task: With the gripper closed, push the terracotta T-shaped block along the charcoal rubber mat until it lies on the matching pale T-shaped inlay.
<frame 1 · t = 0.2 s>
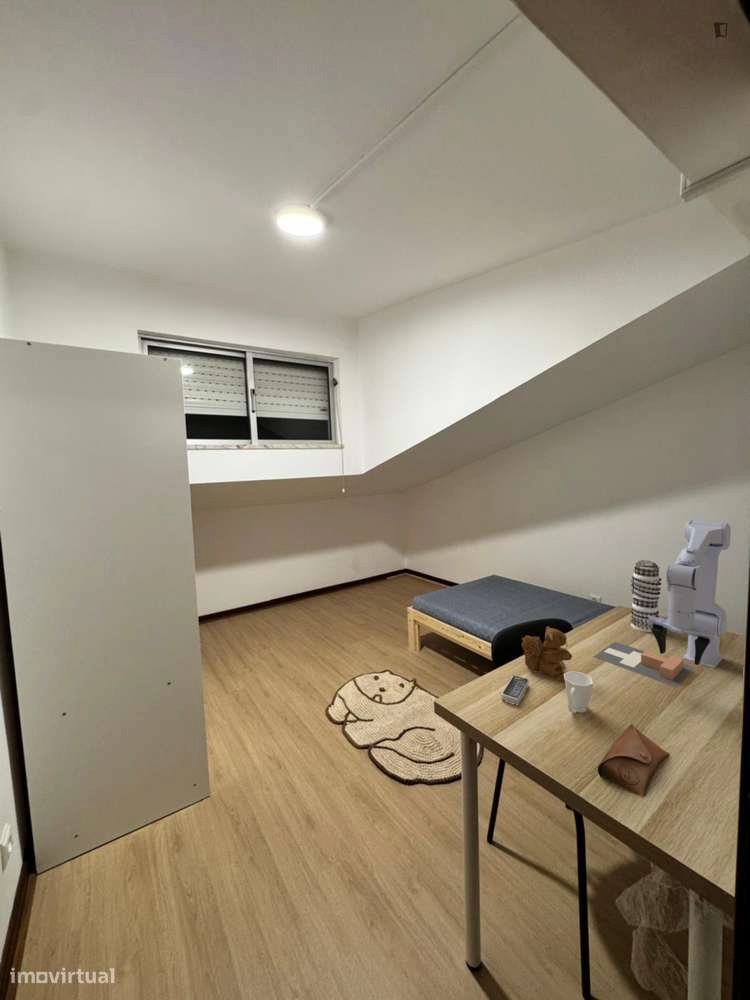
hand: (679, 657, 106), 10 cm above the table, fingers open, 7 cm apart
white patterned cylinder: (644, 627, 146), on the table
sunglasses case: (634, 766, 83), on the table
stuffed squirrel: (545, 671, 120), on the table
t block: (664, 669, 117), resting on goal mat
cup: (575, 710, 101), on the table
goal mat: (641, 663, 122), on the table
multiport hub: (515, 694, 109), on the table
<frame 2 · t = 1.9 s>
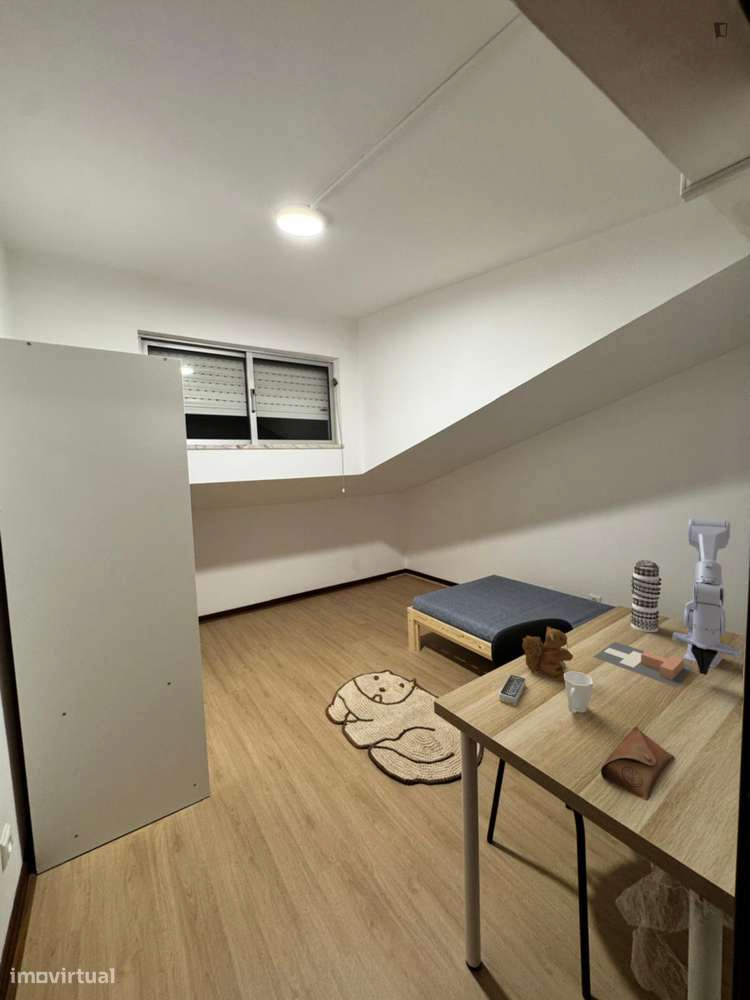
hand: (703, 672, 109), 3 cm above the table, fingers closed
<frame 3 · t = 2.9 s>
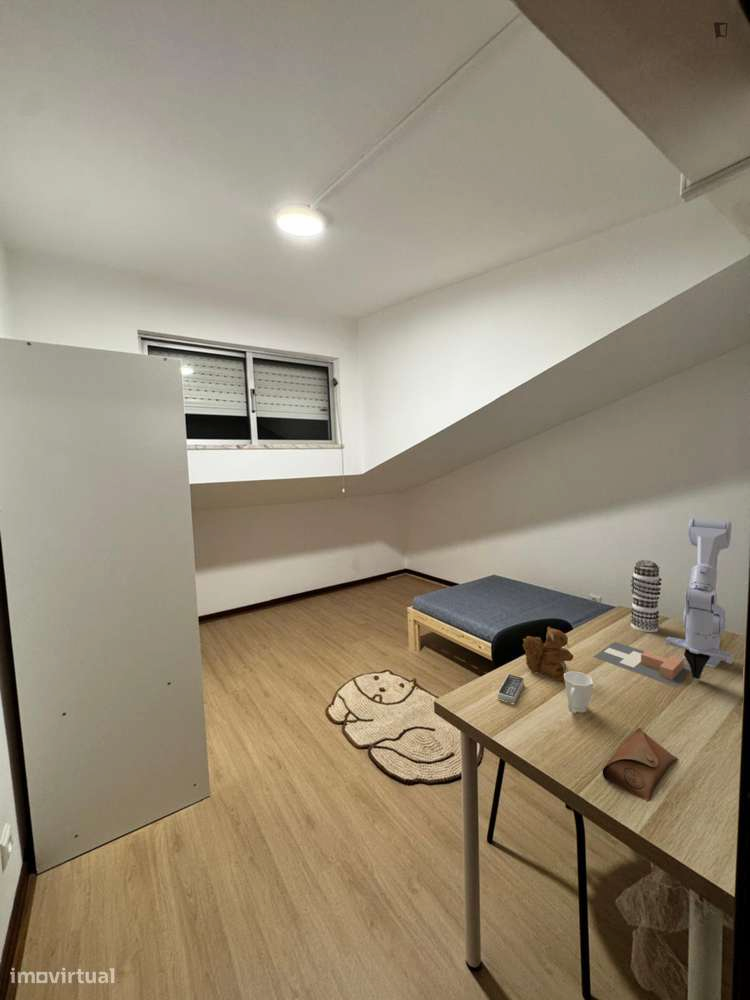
hand: (696, 677, 111), 1 cm above the table, fingers closed
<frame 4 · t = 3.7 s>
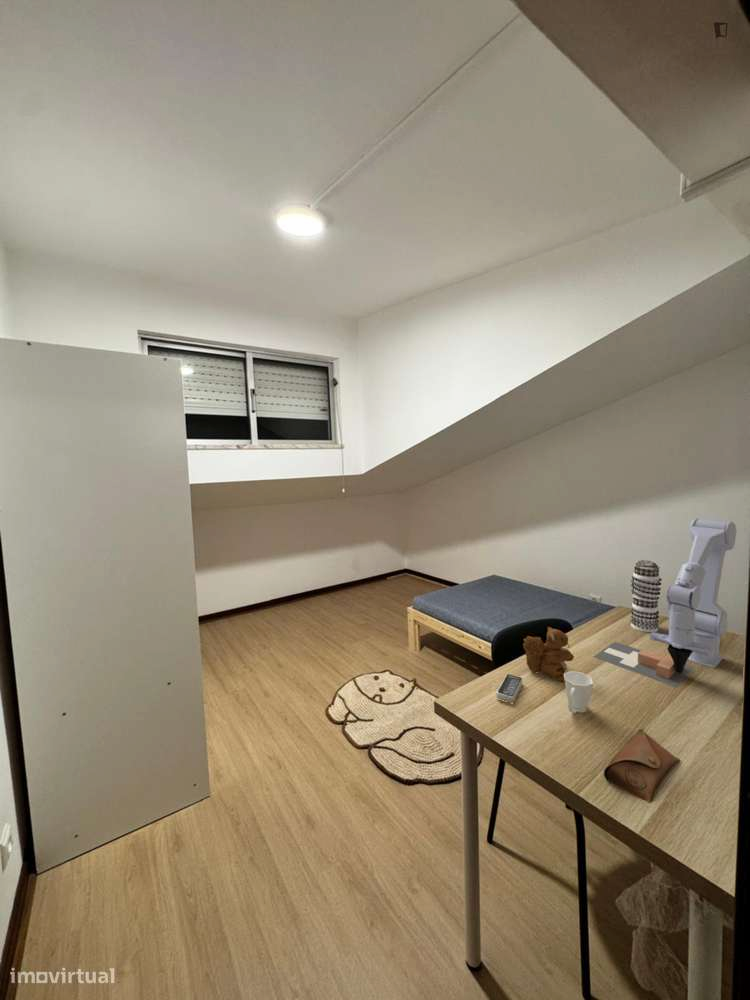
hand: (679, 671, 114), 1 cm above the table, fingers closed
t block: (661, 668, 117), resting on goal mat, touching gripper
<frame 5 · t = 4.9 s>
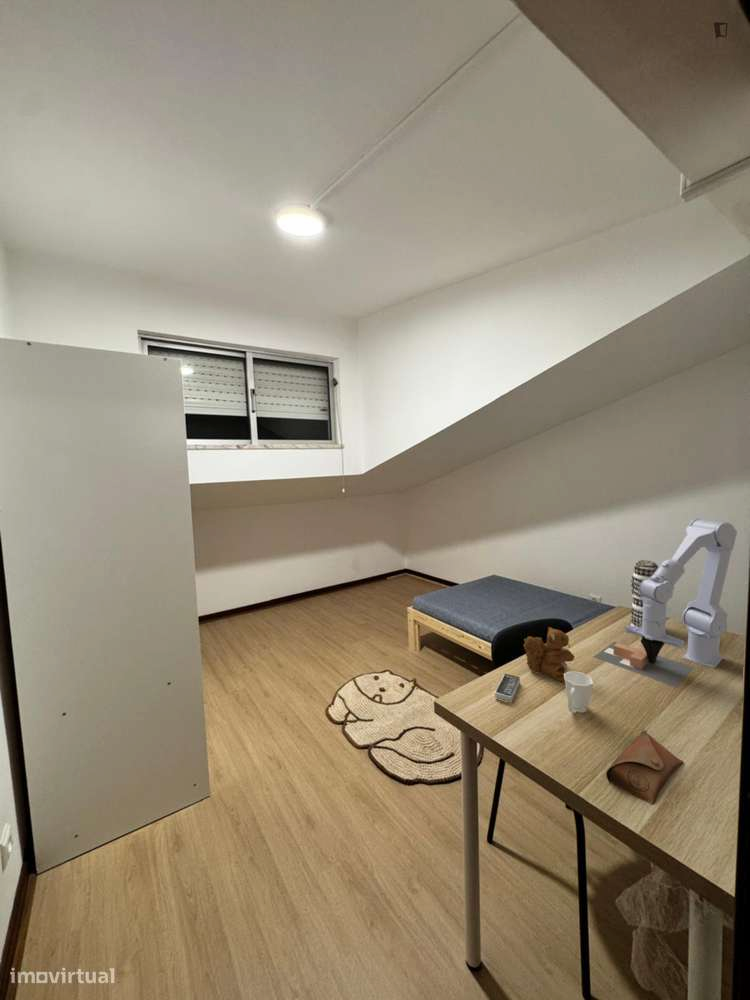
hand: (652, 662, 119), 1 cm above the table, fingers closed
t block: (635, 659, 123), resting on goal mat
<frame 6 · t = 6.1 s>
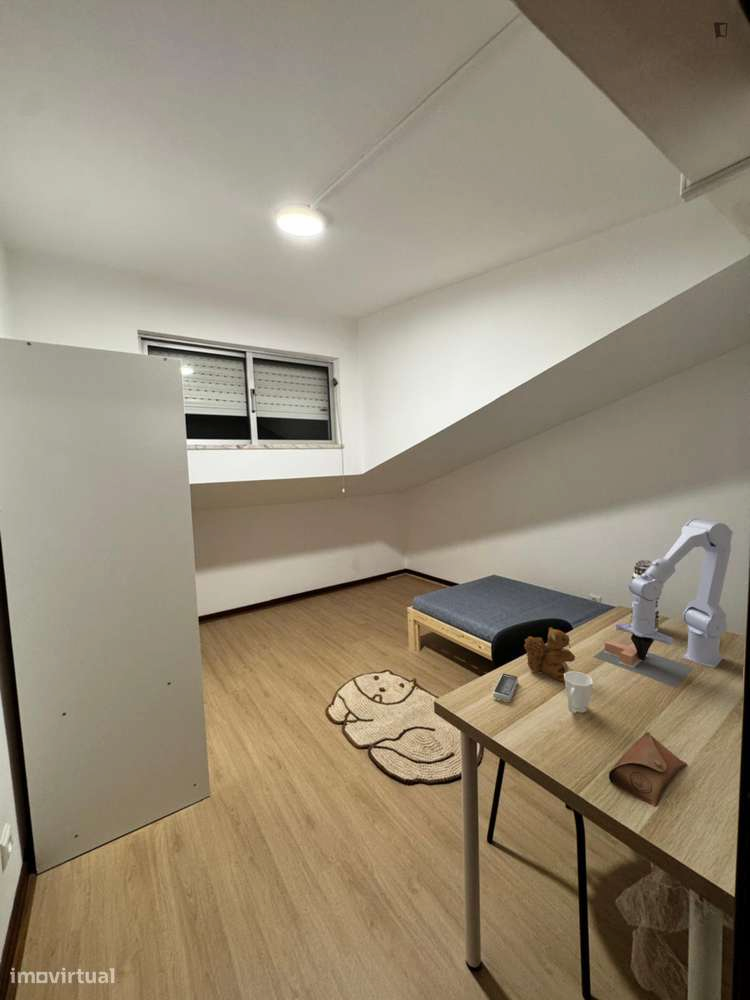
hand: (642, 658, 121), 1 cm above the table, fingers closed
t block: (626, 656, 125), resting on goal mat, touching gripper
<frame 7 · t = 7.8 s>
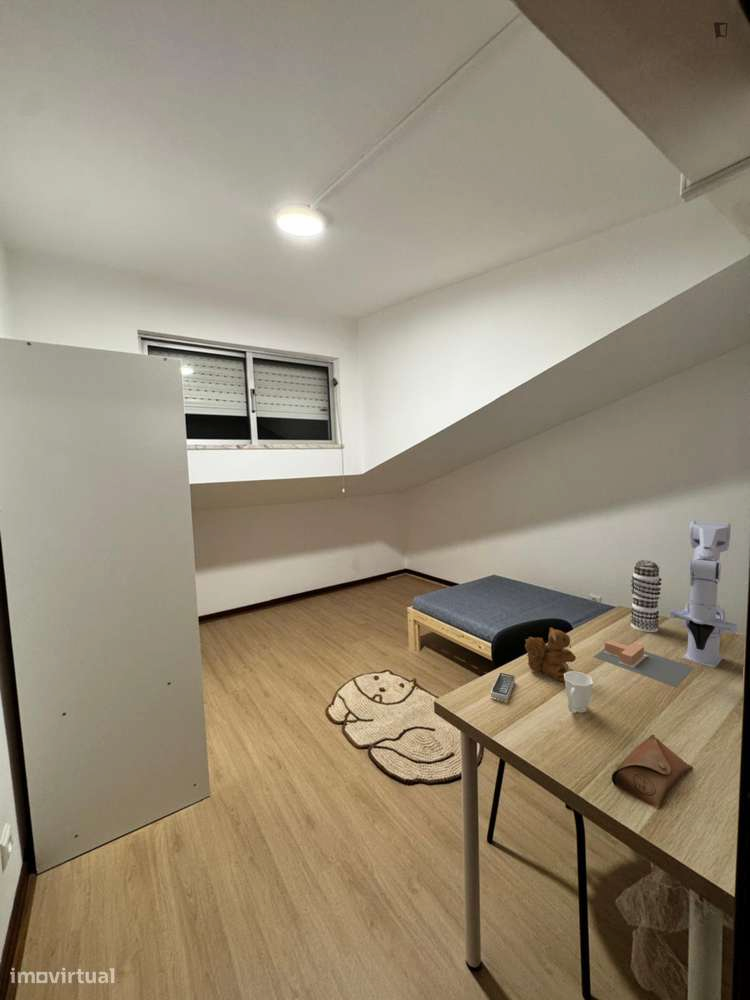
hand: (700, 648, 111), 9 cm above the table, fingers closed
t block: (626, 656, 125), resting on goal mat
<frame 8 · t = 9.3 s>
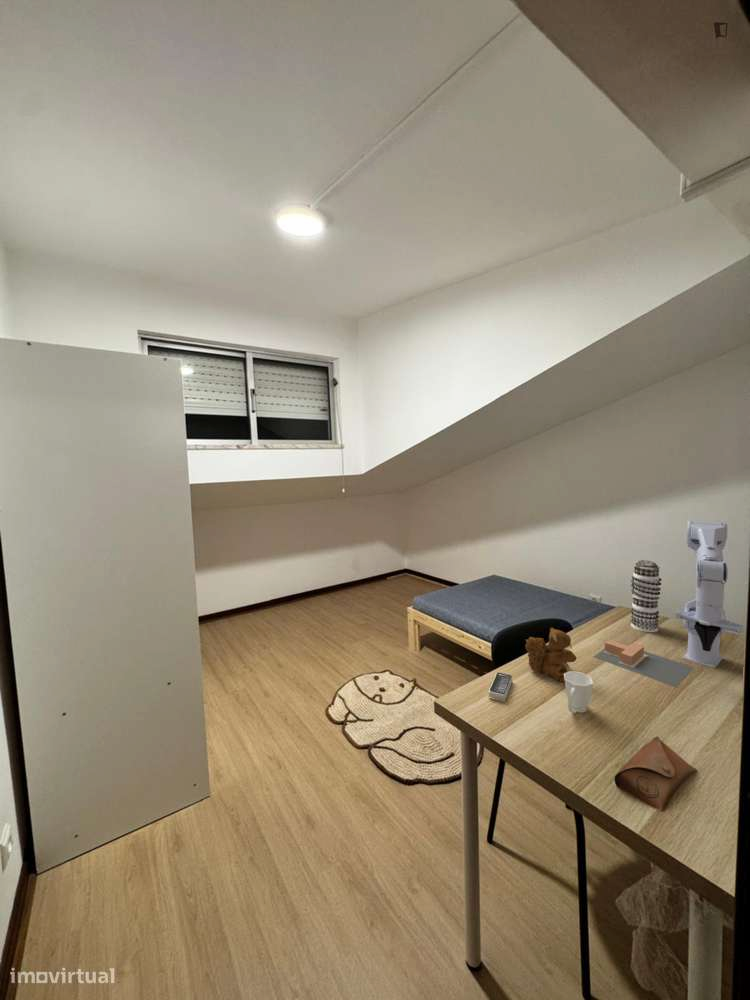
hand: (706, 649, 110), 9 cm above the table, fingers closed
at the end: t block 0.4 cm from the target spot, resting on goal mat; t block tilted 0° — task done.
